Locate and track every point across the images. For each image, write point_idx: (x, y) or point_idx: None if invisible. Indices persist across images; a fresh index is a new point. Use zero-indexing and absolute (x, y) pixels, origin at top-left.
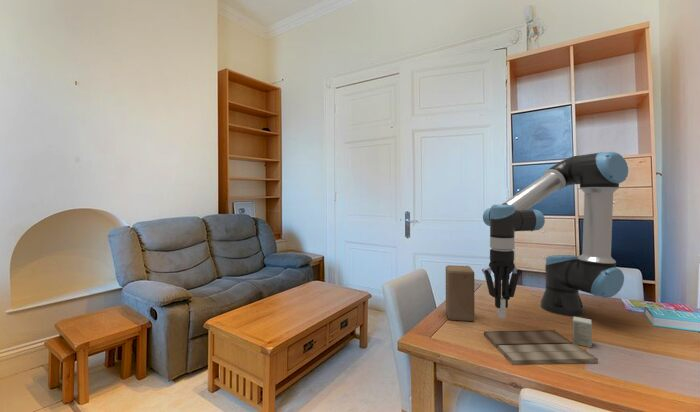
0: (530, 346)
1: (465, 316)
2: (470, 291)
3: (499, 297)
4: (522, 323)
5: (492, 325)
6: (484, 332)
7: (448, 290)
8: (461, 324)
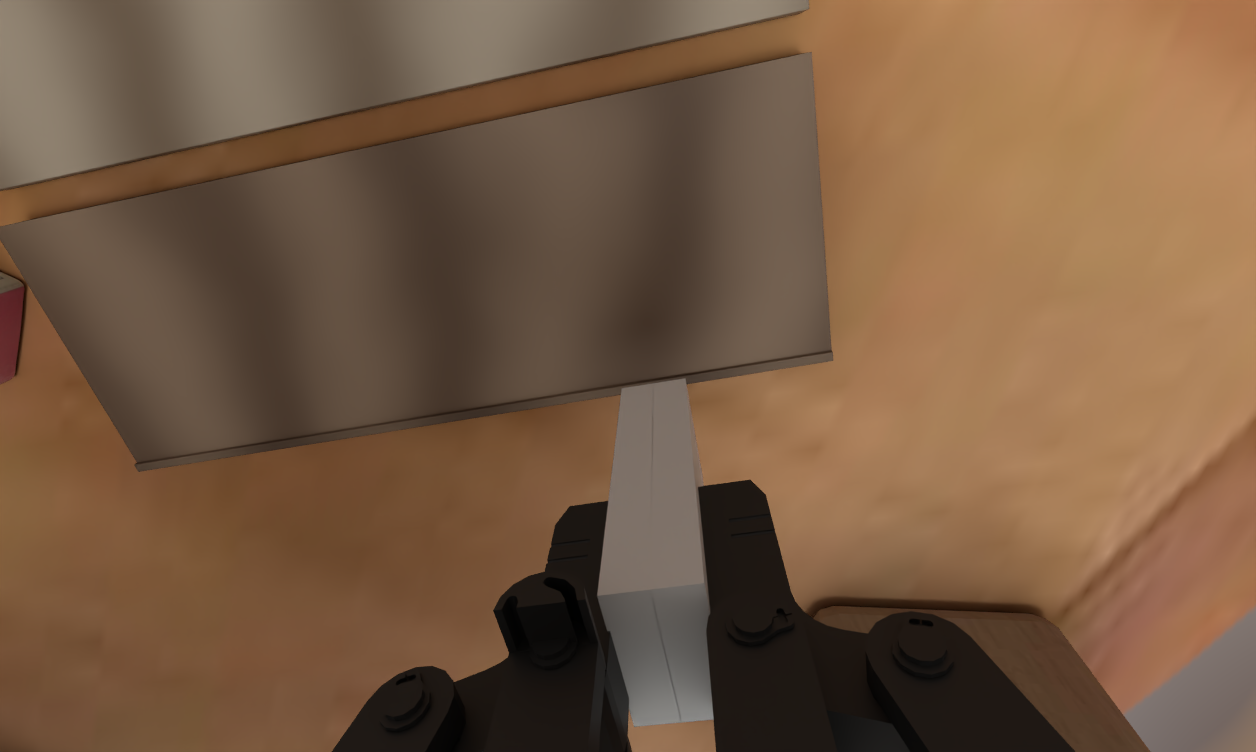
0: (433, 40)
1: None
2: None
3: (758, 620)
4: (395, 610)
5: None
6: (830, 348)
7: None
8: (956, 542)
